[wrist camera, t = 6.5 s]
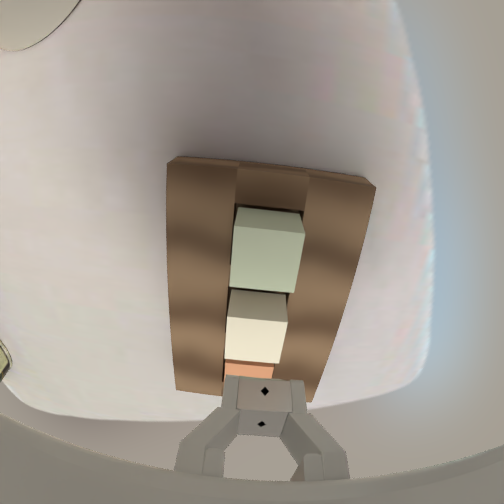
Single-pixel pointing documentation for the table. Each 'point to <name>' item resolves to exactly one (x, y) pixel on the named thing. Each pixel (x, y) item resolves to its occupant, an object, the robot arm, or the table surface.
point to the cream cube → (255, 326)
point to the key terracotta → (248, 368)
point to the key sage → (266, 250)
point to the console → (220, 253)
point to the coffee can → (4, 361)
